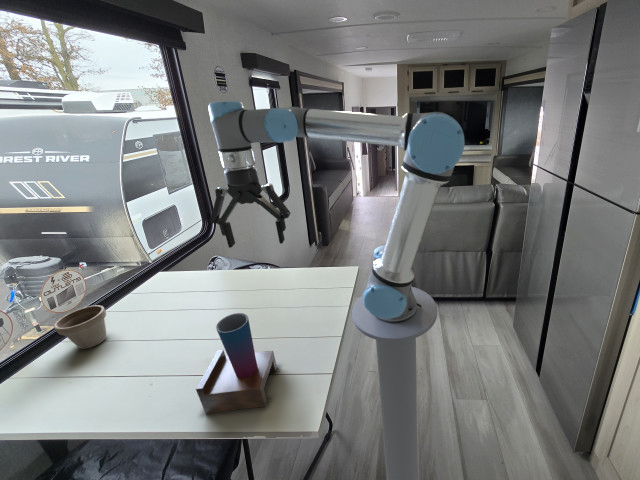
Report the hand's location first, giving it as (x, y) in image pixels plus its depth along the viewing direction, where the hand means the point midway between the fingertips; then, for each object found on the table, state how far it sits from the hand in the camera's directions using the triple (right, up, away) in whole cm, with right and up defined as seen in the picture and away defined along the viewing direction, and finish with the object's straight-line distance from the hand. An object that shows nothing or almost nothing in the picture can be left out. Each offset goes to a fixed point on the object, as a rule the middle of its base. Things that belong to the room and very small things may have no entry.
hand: (257, 243), depth 86 cm
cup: (+1, -32, -8) cm, 33 cm away
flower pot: (-58, -32, +12) cm, 67 cm away
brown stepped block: (-1, -37, -6) cm, 38 cm away
